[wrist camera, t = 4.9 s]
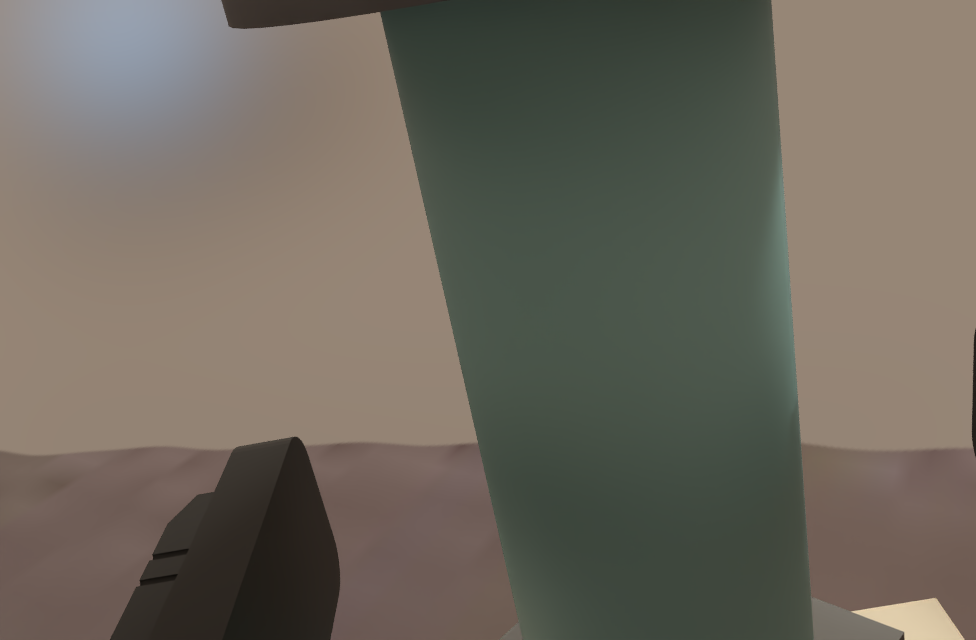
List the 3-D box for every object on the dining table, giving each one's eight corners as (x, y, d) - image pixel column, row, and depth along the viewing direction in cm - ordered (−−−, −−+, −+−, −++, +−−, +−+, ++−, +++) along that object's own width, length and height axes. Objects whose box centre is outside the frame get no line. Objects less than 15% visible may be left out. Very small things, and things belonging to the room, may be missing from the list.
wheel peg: (519, 1228, 13) (66, -115, 6) (503, 793, 19) (271, -98, 13) (1031, 1163, 12) (1145, -349, 6) (841, 741, 19) (789, -209, 12)
